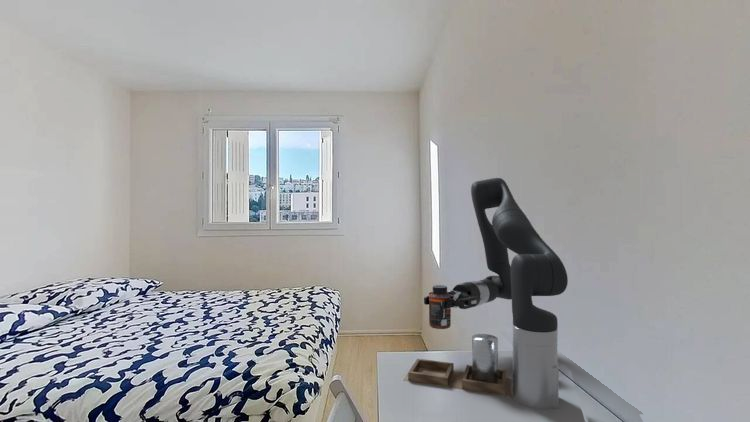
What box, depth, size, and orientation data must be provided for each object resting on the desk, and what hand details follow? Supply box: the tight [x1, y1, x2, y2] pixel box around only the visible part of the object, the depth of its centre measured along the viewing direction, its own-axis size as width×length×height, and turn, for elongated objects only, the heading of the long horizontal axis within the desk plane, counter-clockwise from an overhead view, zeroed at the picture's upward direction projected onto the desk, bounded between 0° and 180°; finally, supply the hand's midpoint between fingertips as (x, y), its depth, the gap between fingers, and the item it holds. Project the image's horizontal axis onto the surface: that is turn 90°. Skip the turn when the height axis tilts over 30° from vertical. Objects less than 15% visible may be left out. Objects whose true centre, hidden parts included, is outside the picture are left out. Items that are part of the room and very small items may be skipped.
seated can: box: [471, 333, 499, 384], centre depth 95 cm, size 6×6×11 cm
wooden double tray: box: [403, 358, 512, 398], centre depth 97 cm, size 25×10×3 cm, turn 70°
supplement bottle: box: [428, 284, 452, 330], centre depth 110 cm, size 6×6×11 cm
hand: (434, 302), depth 108 cm, fingers closed on supplement bottle, 6 cm apart
